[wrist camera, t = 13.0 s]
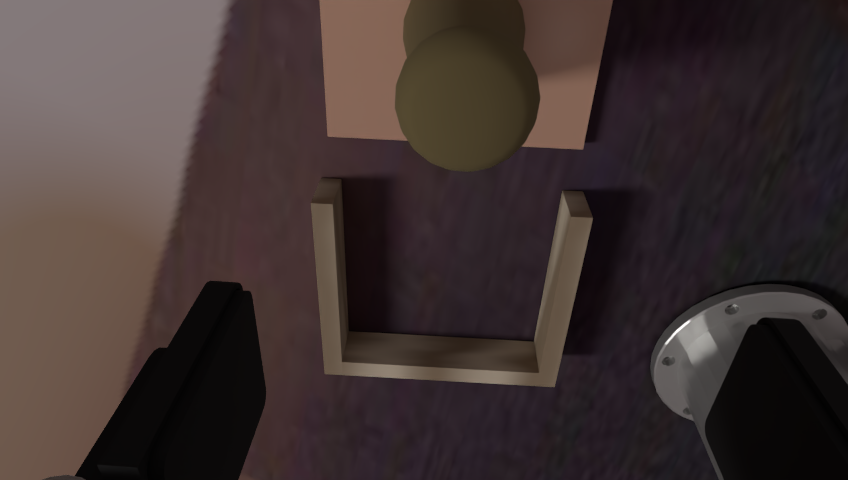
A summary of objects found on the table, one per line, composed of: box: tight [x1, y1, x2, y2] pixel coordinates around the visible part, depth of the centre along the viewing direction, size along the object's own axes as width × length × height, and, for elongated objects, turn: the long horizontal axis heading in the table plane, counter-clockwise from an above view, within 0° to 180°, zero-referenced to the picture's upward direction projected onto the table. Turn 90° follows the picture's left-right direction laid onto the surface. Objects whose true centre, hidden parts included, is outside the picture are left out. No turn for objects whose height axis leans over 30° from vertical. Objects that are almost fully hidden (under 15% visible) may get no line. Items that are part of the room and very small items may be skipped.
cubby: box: [311, 178, 593, 387], centre depth 37 cm, size 15×13×3 cm
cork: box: [395, 0, 540, 172], centre depth 24 cm, size 6×6×11 cm
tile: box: [320, 0, 613, 149], centre depth 29 cm, size 14×12×1 cm
